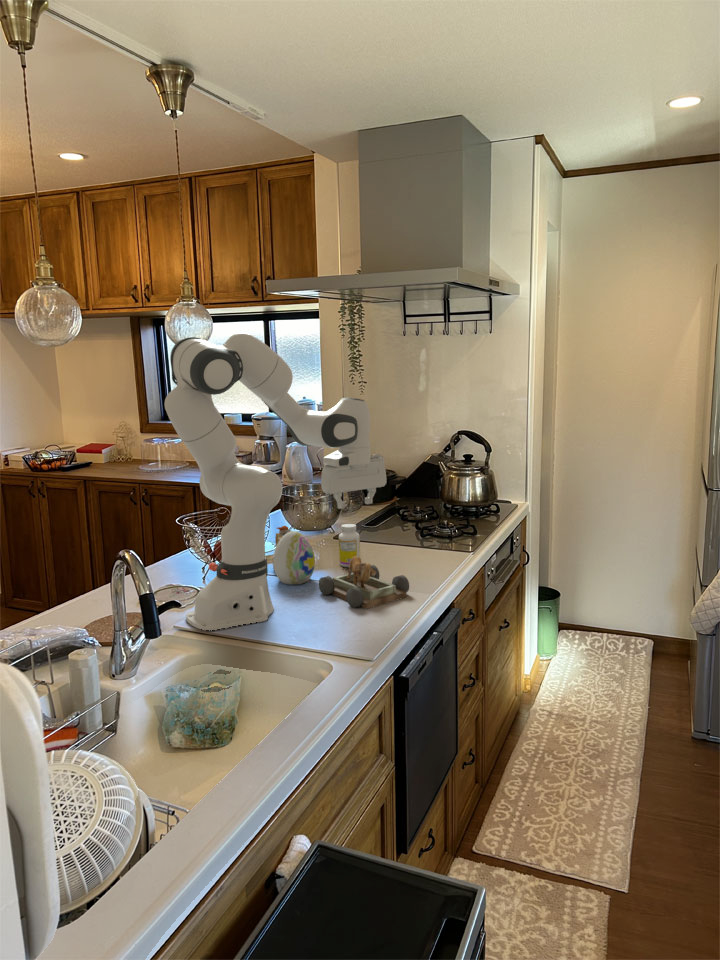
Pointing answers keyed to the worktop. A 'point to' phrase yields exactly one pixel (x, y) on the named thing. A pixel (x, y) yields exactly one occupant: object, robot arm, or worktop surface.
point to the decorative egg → (293, 559)
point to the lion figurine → (360, 571)
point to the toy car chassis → (369, 596)
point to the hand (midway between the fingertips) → (355, 506)
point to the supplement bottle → (348, 544)
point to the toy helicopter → (281, 534)
